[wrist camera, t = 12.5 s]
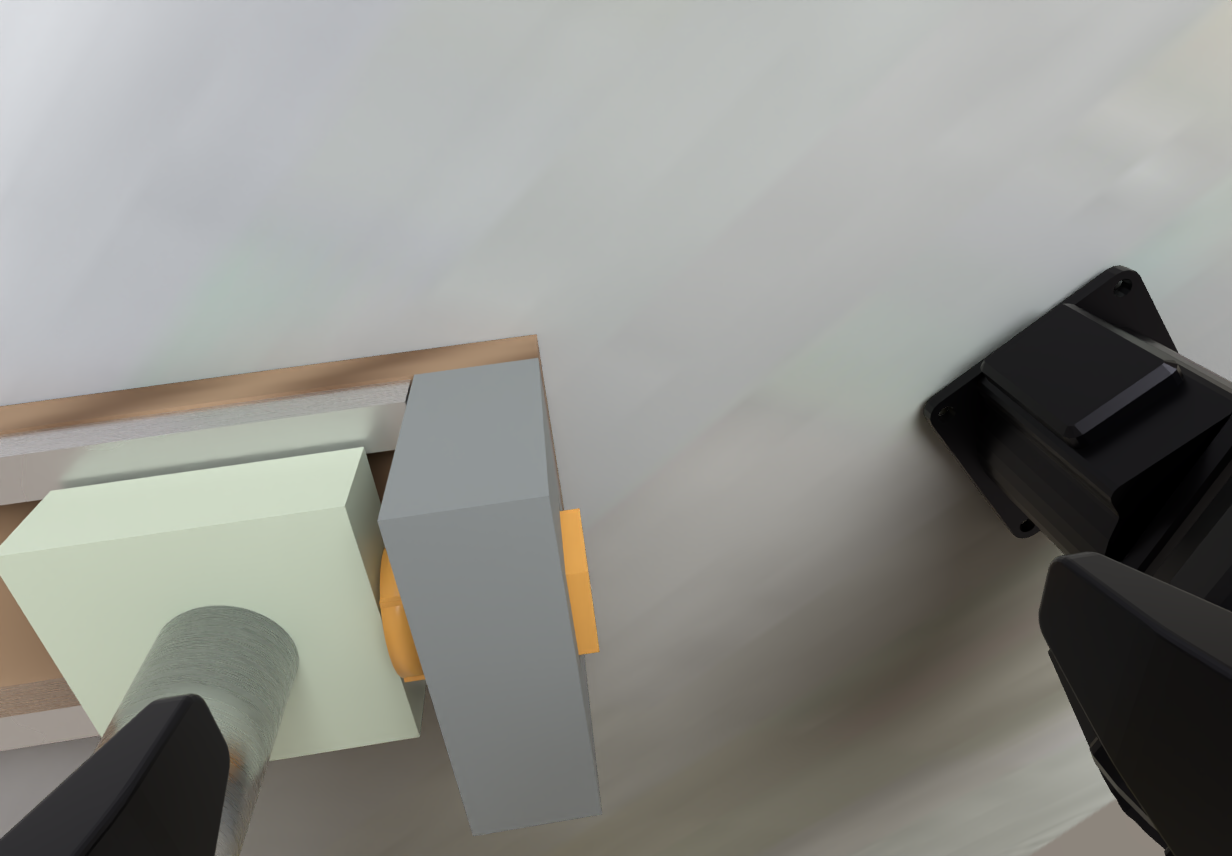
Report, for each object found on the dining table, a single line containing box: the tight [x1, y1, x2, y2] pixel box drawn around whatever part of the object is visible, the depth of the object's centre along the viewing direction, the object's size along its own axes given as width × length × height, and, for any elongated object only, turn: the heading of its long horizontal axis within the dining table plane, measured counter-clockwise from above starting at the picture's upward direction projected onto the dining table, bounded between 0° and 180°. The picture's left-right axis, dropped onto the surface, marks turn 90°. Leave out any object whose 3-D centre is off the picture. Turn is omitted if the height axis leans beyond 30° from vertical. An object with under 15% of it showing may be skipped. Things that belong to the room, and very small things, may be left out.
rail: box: [0, 334, 602, 836], centre depth 19 cm, size 23×9×8 cm, turn 95°
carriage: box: [0, 447, 426, 856], centre depth 15 cm, size 7×7×10 cm
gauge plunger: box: [379, 509, 600, 682], centre depth 18 cm, size 4×3×3 cm
